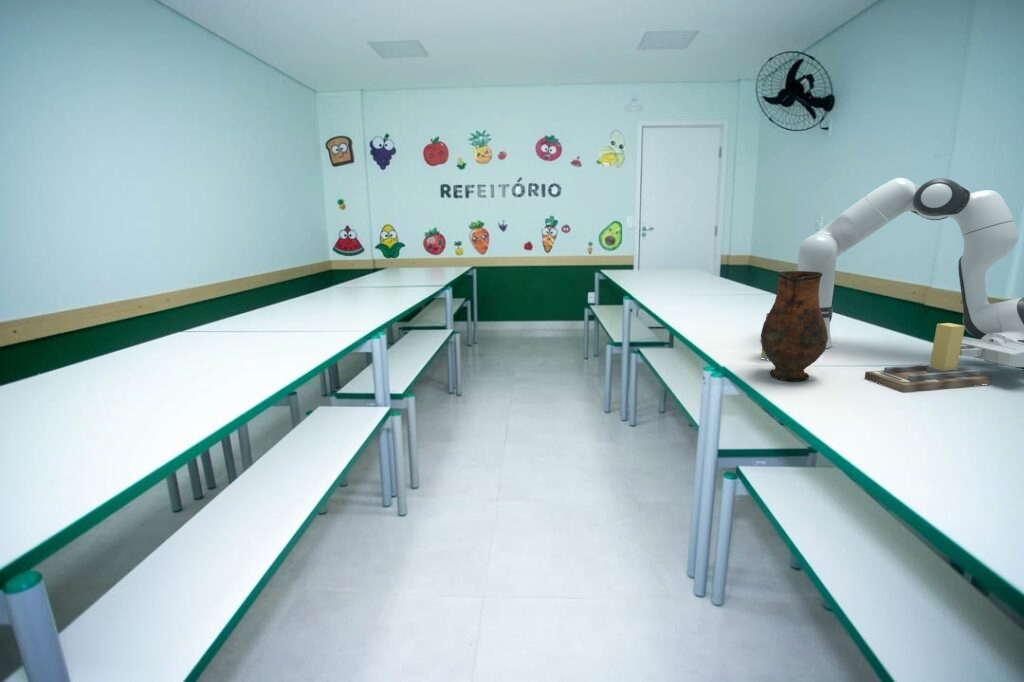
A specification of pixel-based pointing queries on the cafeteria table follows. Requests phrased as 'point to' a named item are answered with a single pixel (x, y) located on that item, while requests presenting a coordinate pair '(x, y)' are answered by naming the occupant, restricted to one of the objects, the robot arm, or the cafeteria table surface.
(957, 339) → the slider tab
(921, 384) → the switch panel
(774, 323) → the brown vase
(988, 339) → the robot arm
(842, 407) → the cafeteria table surface
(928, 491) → the cafeteria table surface
